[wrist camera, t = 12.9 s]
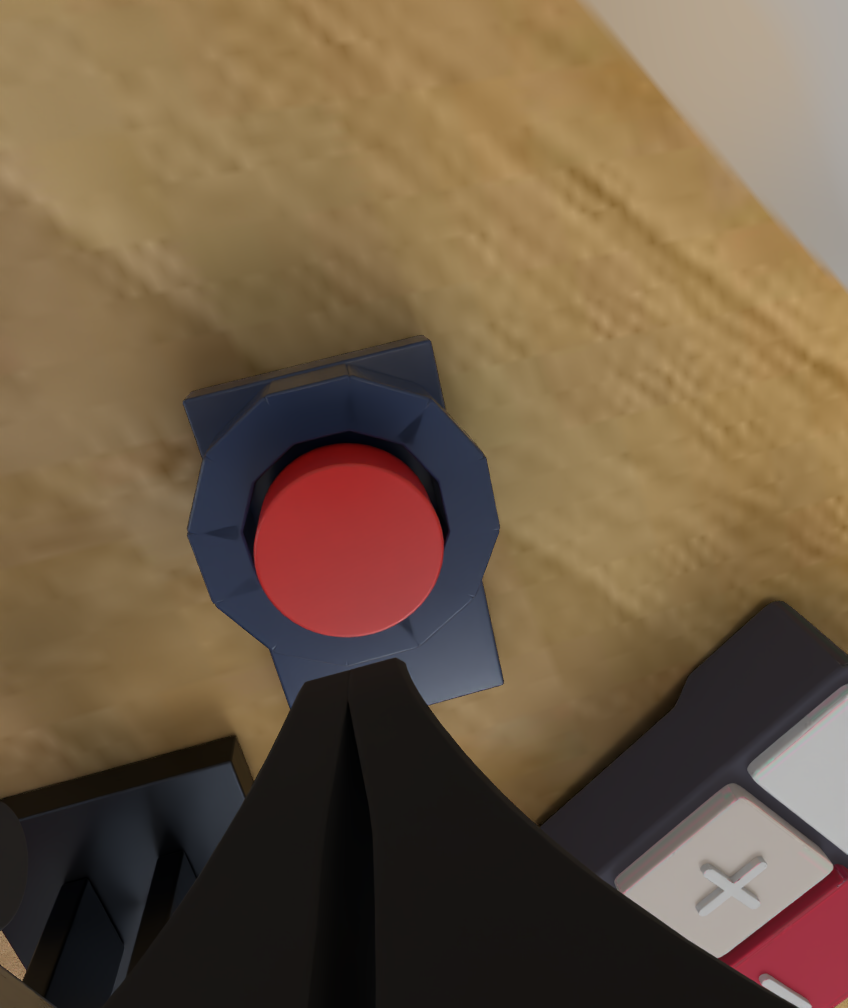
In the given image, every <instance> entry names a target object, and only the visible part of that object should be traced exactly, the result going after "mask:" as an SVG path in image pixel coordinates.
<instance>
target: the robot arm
mask: <svg viewBox="0 0 848 1008" xmlns="http://www.w3.org/2000/svg"><path fill="white" fill-rule="evenodd" d="M101 1008H799V1007H797V1006H795V1005H794V1004H792V1003H790V1002H788V1001H787V1000H785V999H783V998H782V997H780V996H778V995H776V994H775V993H773V992H771V991H770V990H768V989H766V988H764V987H763V986H761V985H759V984H758V983H756V982H754V981H753V980H751V979H750V978H748V977H747V976H745V975H743V974H742V973H740V972H739V971H737V970H735V969H734V968H732V967H731V966H729V965H727V964H726V963H724V962H723V961H721V960H719V959H718V958H716V957H715V956H713V955H712V954H710V953H708V952H707V951H705V950H704V949H702V948H700V947H699V946H697V945H696V944H694V943H692V942H691V941H689V940H688V939H686V938H685V937H683V936H682V935H681V934H679V933H678V932H676V931H675V930H674V929H672V928H671V927H669V926H668V925H666V924H665V923H664V922H662V921H661V920H659V919H658V918H657V917H655V916H654V915H652V914H651V913H649V912H648V911H647V910H645V909H644V908H642V907H641V906H639V905H638V904H637V903H635V902H634V901H632V900H631V899H630V898H628V897H627V896H625V895H624V894H622V893H621V892H620V891H618V890H617V889H615V888H614V887H613V886H611V885H610V884H608V883H607V882H605V881H604V880H603V879H601V878H600V877H599V876H597V875H596V874H595V873H594V872H592V871H591V870H590V869H589V868H587V867H586V866H585V865H584V864H582V863H581V862H580V861H579V860H578V859H576V858H575V857H574V856H573V855H571V854H570V853H569V852H568V851H566V850H565V849H564V848H563V847H561V846H560V845H559V844H558V843H557V842H555V841H554V840H553V839H552V838H551V837H550V836H549V835H547V834H546V833H545V832H544V831H543V830H542V829H541V828H539V827H538V826H537V825H536V824H535V823H534V822H533V821H531V820H530V819H529V818H528V817H527V816H526V815H525V814H524V813H523V812H522V811H521V810H520V809H518V808H517V807H516V806H515V805H514V804H513V803H512V802H511V801H510V800H509V799H508V798H507V797H506V796H505V795H504V794H503V793H502V792H501V791H500V790H499V789H498V788H497V787H496V786H495V785H494V784H493V783H492V782H491V781H490V780H489V779H488V778H487V777H486V775H485V774H484V773H483V772H482V771H481V770H480V769H479V768H478V767H477V766H476V765H475V764H474V763H473V761H472V760H471V759H470V758H469V757H468V756H467V755H466V754H465V753H464V751H463V750H462V749H461V748H460V746H459V745H458V744H457V743H456V742H455V740H454V739H453V738H452V737H451V735H450V734H449V733H448V732H447V731H446V729H445V728H444V727H443V726H442V724H441V723H440V722H439V721H438V719H437V718H436V716H435V715H434V714H433V712H432V711H431V710H430V708H429V707H428V705H427V704H426V702H425V701H424V699H423V698H422V696H421V695H420V693H419V691H418V690H417V688H416V686H415V684H414V682H413V681H412V679H411V676H410V674H409V672H408V669H407V665H406V663H405V662H403V661H402V660H400V659H398V658H396V657H395V658H391V659H388V660H384V661H380V662H377V663H373V664H369V665H366V666H362V667H358V668H355V669H351V670H347V671H344V672H340V673H336V674H332V675H329V676H325V677H321V678H318V679H314V680H310V681H307V682H305V683H304V684H303V686H302V687H301V689H300V691H299V692H298V694H297V697H296V699H295V701H294V703H293V705H292V707H291V709H290V711H289V714H288V716H287V718H286V720H285V722H284V724H283V726H282V728H281V730H280V732H279V734H278V736H277V738H276V740H275V742H274V744H273V746H272V748H271V750H270V752H269V754H268V756H267V758H266V760H265V762H264V764H263V766H262V768H261V769H260V771H259V773H258V775H257V777H256V779H255V781H254V783H253V784H252V786H251V788H250V790H249V792H248V794H247V796H246V797H245V799H244V801H243V803H242V805H241V807H240V808H239V810H238V812H237V814H236V815H235V817H234V819H233V820H232V822H231V824H230V825H229V827H228V828H227V830H226V832H225V833H224V835H223V837H222V838H221V840H220V842H219V843H218V845H217V847H216V848H215V850H214V852H213V853H212V855H211V856H210V858H209V860H208V861H207V863H206V865H205V866H204V868H203V870H202V871H201V873H200V874H199V876H198V877H197V879H196V880H195V882H194V884H193V885H192V887H191V888H190V890H189V891H188V893H187V894H186V896H185V897H184V899H183V900H182V902H181V903H180V905H179V906H178V907H177V909H176V910H175V912H174V913H173V915H172V916H171V918H170V919H169V921H168V922H167V923H166V925H165V926H164V927H163V929H162V930H161V932H160V933H159V934H158V936H157V937H156V938H155V940H154V941H153V943H152V944H151V945H150V947H149V948H148V949H147V951H146V952H145V954H144V955H143V956H142V958H141V959H140V960H139V961H138V963H137V964H136V965H135V967H134V968H133V969H132V971H131V972H130V973H129V975H128V976H127V977H126V978H125V979H124V981H123V982H122V983H121V984H120V986H119V987H118V988H117V989H116V990H115V992H114V993H113V994H112V995H111V996H110V998H109V999H108V1000H107V1001H106V1003H105V1004H104V1005H103V1006H102V1007H101Z"/></svg>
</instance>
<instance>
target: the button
mask: <svg viewBox="0 0 848 1008" xmlns="http://www.w3.org/2000/svg"><path fill="white" fill-rule="evenodd" d="M443 555H444V539H443V533H442V528H441V525H440V521H439V518H438V516H437V514H436V512H435V509H434V507H433V505H432V503H431V501H430V499H429V496H428V494H427V492H426V490H425V488H424V486H423V484H422V483H421V481H420V479H419V478H418V476H417V475H416V474H415V473H414V472H413V471H412V469H411V468H410V467H408V466H407V465H406V464H405V463H404V462H403V461H402V460H400V459H399V458H397V457H395V456H394V455H392V454H390V453H388V452H386V451H384V450H382V449H379V448H376V447H373V446H369V445H364V444H358V443H337V444H331V445H326V446H322V447H319V448H316V449H313V450H311V451H309V452H307V453H305V454H303V455H301V456H299V457H298V458H296V459H295V460H293V461H292V462H291V463H290V464H288V465H287V466H286V467H285V468H284V469H283V470H282V471H281V472H280V473H279V474H278V475H277V477H276V478H275V479H274V481H273V482H272V484H271V485H270V487H269V489H268V491H267V493H266V495H265V498H264V501H263V504H262V507H261V512H260V516H259V520H258V525H257V529H256V534H255V540H254V564H255V569H256V573H257V577H258V579H259V582H260V584H261V587H262V589H263V590H264V592H265V594H266V595H267V597H268V599H269V600H270V601H271V602H272V603H273V605H274V606H275V607H276V608H277V609H278V610H279V611H280V612H281V613H282V614H283V615H284V616H286V617H287V618H288V619H290V620H291V621H293V622H294V623H296V624H298V625H299V626H301V627H303V628H305V629H308V630H310V631H313V632H315V633H319V634H323V635H327V636H334V637H359V636H365V635H370V634H374V633H377V632H380V631H383V630H386V629H388V628H390V627H392V626H394V625H396V624H398V623H400V622H401V621H403V620H404V619H406V618H407V617H408V616H410V615H411V614H412V613H413V612H414V611H415V610H416V609H417V608H418V607H419V606H420V605H421V604H422V603H423V602H424V601H425V599H426V598H427V597H428V595H429V594H430V592H431V591H432V589H433V587H434V585H435V584H436V581H437V579H438V576H439V574H440V570H441V567H442V563H443Z"/></svg>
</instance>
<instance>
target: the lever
mask: <svg viewBox="0 0 848 1008" xmlns="http://www.w3.org/2000/svg"><path fill="white" fill-rule="evenodd" d="M27 875H28V851H27V844H26V839H25V835H24V831H23V828H22V826H21V823H20V821H19V819H18V817H17V816H16V814H15V813H14V811H13V810H12V809H11V808H10V807H9V806H8V805H7V804H5V803H3V802H2V801H0V931H1V930H2V929H4V928H5V927H6V926H7V925H8V924H9V923H10V921H11V920H12V919H13V917H14V916H15V914H16V913H17V911H18V909H19V907H20V904H21V902H22V899H23V895H24V892H25V888H26V882H27ZM0 1008H57V1007H56V1006H54V1005H53V1004H52V1003H50V1002H49V1001H48V1000H46V999H45V998H44V997H42V996H41V995H40V994H38V993H37V992H36V991H34V990H33V989H32V988H30V987H29V986H28V985H26V984H25V983H24V982H22V981H21V980H20V979H18V978H17V977H16V976H14V975H13V974H12V973H10V972H9V971H8V970H6V969H5V968H4V967H2V966H1V965H0Z"/></svg>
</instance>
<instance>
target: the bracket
mask: <svg viewBox="0 0 848 1008" xmlns="http://www.w3.org/2000/svg"><path fill="white" fill-rule="evenodd" d="M253 783H254V781H253V779H252V776H251V774H250V771H249V769H248V766H247V764H246V761H245V758H244V756H243V753H242V751H241V748H240V746H239V743H238V741H237V738H236V736H231V737H227V738H224V739H220V740H216V741H213V742H209V743H206V744H202V745H198V746H195V747H191V748H187V749H184V750H180V751H176V752H173V753H169V754H165V755H162V756H158V757H155V758H151V759H147V760H144V761H140V762H136V763H133V764H129V765H125V766H122V767H118V768H114V769H111V770H107V771H104V772H100V773H96V774H93V775H89V776H85V777H82V778H78V779H74V780H71V781H67V782H63V783H60V784H56V785H53V786H49V787H45V788H42V789H38V790H34V791H31V792H27V793H23V794H20V795H16V796H12V797H9V798H5V799H2V800H0V801H2V802H3V803H5V804H7V805H8V806H9V807H10V808H11V809H12V810H13V811H14V813H15V814H16V816H17V817H18V819H19V821H20V823H21V826H22V828H23V831H24V835H25V839H26V844H27V851H28V875H27V882H26V888H25V892H24V895H23V899H22V902H21V904H20V907H19V909H18V911H17V913H16V914H15V916H14V917H13V919H12V920H11V921H10V923H9V924H8V925H7V926H6V927H5V928H4V929H2V932H3V933H4V935H5V937H6V938H7V940H8V941H9V943H10V945H11V946H12V948H13V949H14V951H15V953H16V954H17V956H18V958H19V959H20V961H21V962H22V964H23V966H24V967H25V969H26V974H25V976H24V979H23V981H22V982H24V983H25V984H26V985H28V986H29V987H30V988H32V989H33V990H34V991H36V992H37V993H38V994H40V995H41V996H42V997H44V998H45V999H46V1000H48V1001H49V1002H50V1003H52V1004H53V1005H54V1006H56V1007H57V1008H101V1007H102V1006H103V1005H104V1004H105V1003H106V1001H107V1000H108V999H109V998H110V996H111V995H112V994H113V993H114V992H115V990H116V989H117V988H118V987H119V986H120V984H121V983H122V982H123V981H124V979H125V978H126V977H127V976H128V975H129V973H130V972H131V971H132V969H133V968H134V967H135V965H136V964H137V963H138V961H139V960H140V959H141V958H142V956H143V955H144V954H145V952H146V951H147V949H148V948H149V947H150V945H151V944H152V943H153V941H154V940H155V938H156V937H157V936H158V934H159V933H160V932H161V930H162V929H163V927H164V926H165V925H166V923H167V922H168V921H169V919H170V918H171V916H172V915H173V913H174V912H175V910H176V909H177V907H178V906H179V905H180V903H181V902H182V900H183V899H184V897H185V896H186V894H187V893H188V891H189V890H190V888H191V887H192V885H193V884H194V882H195V880H196V879H197V877H198V876H199V874H200V873H201V871H202V870H203V868H204V866H205V865H206V863H207V861H208V860H209V858H210V856H211V855H212V853H213V852H214V850H215V848H216V847H217V845H218V843H219V842H220V840H221V838H222V837H223V835H224V833H225V832H226V830H227V828H228V827H229V825H230V824H231V822H232V820H233V819H234V817H235V815H236V814H237V812H238V810H239V808H240V807H241V805H242V803H243V801H244V799H245V797H246V796H247V794H248V792H249V790H250V788H251V786H252V784H253Z"/></svg>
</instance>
